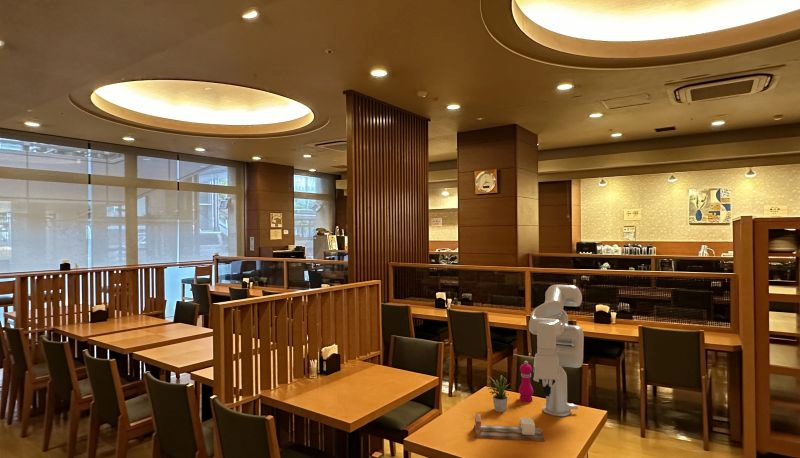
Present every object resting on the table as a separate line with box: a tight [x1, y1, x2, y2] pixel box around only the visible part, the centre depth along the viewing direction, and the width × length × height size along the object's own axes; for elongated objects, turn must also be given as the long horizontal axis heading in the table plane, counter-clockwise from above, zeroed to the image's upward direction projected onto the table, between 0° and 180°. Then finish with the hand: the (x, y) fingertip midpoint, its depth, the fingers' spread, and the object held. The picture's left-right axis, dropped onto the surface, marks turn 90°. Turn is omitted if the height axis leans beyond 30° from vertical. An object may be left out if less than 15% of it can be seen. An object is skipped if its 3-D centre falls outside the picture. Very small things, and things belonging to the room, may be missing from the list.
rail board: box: [473, 413, 545, 442], centre depth 192 cm, size 28×10×6 cm, turn 83°
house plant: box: [487, 374, 512, 413], centre depth 220 cm, size 14×14×16 cm
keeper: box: [519, 416, 536, 435], centre depth 191 cm, size 5×7×4 cm
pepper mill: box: [518, 360, 534, 403], centre depth 232 cm, size 7×7×20 cm
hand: (546, 395), depth 190 cm, fingers closed
